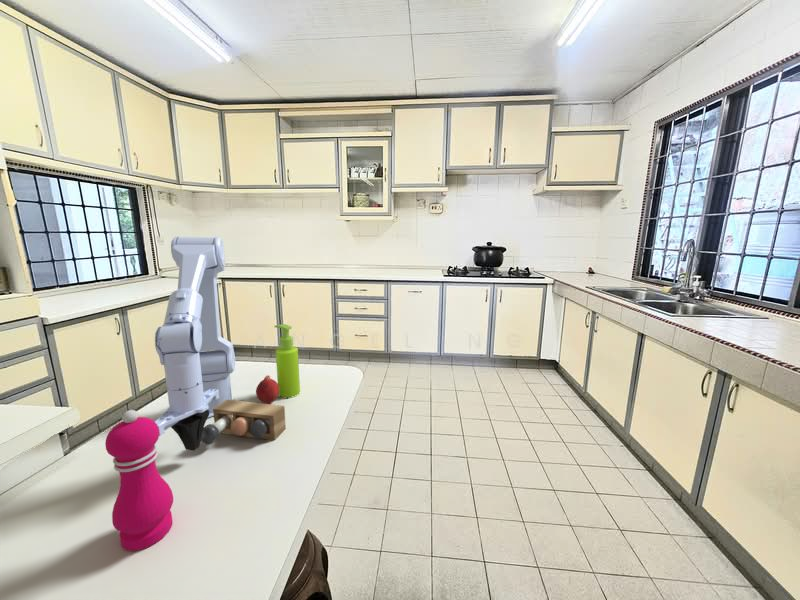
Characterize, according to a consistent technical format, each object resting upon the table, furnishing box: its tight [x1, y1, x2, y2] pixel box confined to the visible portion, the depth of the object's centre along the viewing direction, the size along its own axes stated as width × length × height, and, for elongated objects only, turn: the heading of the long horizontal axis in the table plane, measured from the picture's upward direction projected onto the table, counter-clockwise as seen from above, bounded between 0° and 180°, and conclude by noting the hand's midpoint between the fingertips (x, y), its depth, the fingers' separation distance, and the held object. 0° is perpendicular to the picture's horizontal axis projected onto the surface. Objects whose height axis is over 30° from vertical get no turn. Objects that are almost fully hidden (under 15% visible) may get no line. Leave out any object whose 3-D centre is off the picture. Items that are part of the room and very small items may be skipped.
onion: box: [255, 374, 280, 404], centre depth 89 cm, size 6×6×8 cm
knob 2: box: [249, 418, 270, 439], centre depth 75 cm, size 4×6×4 cm, turn 169°
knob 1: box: [200, 416, 231, 445], centre depth 73 cm, size 4×6×4 cm, turn 169°
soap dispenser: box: [274, 323, 301, 398], centre depth 94 cm, size 6×7×20 cm
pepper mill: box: [104, 409, 174, 552], centre depth 49 cm, size 7×7×20 cm
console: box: [213, 399, 287, 441], centre depth 77 cm, size 15×4×6 cm, turn 79°
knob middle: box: [231, 416, 251, 437], centre depth 76 cm, size 4×6×4 cm, turn 169°
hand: (192, 448), depth 66 cm, fingers closed
